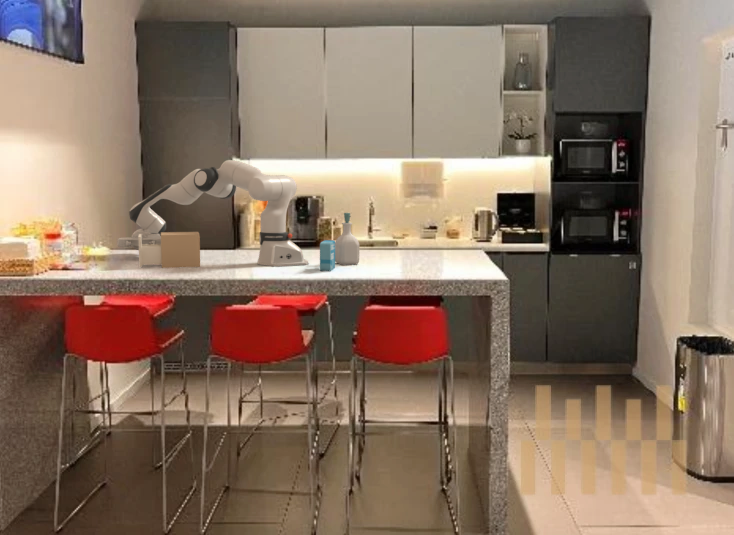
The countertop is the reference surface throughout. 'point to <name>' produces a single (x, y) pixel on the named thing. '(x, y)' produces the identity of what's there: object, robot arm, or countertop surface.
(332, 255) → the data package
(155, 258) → the inner tray
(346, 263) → the soap bottle
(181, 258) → the carton
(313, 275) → the countertop surface
